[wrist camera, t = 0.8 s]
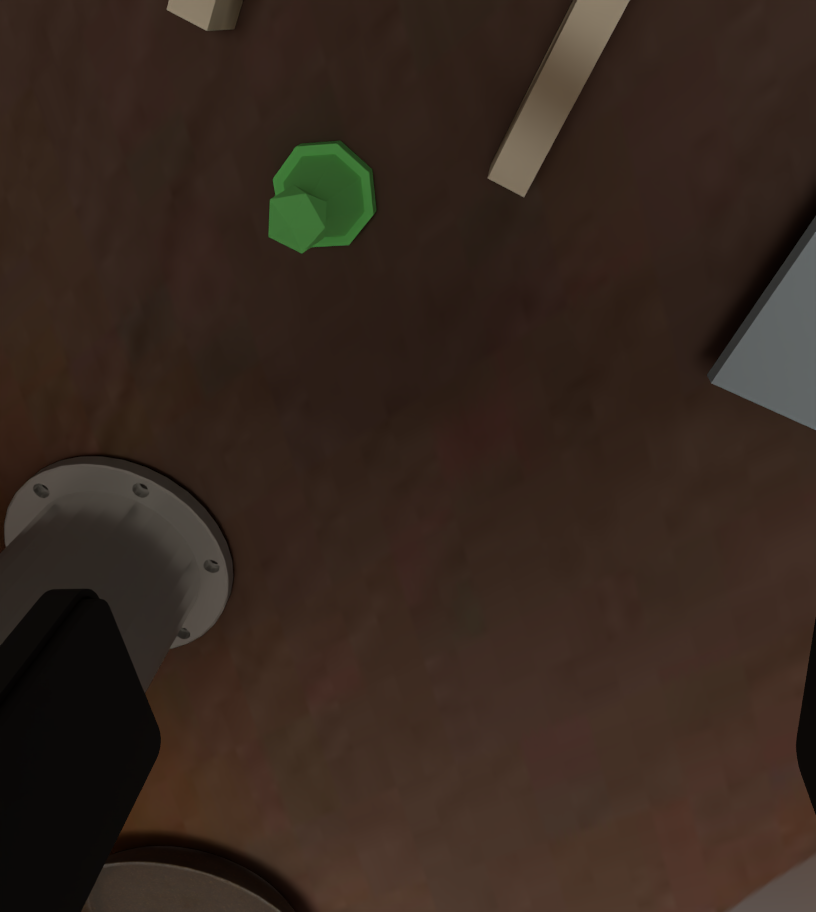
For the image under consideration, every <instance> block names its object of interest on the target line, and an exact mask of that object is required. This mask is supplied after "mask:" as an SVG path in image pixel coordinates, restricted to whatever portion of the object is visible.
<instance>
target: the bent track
mask: <svg viewBox="0 0 816 912" xmlns="http://www.w3.org/2000/svg"><path fill="white" fill-rule="evenodd" d="M629 1H630V0H573V1H572V3H571V5H570V7H569V9H568V11H567V13H566V15H565V17H564V19H563V21H562V23H561V25H560V27H559V29H558V31H557V33H556V35H555V37H554V39H553V41H552V43H551V45H550V47H549V49H548V51H547V53H546V55H545V57H544V59H543V61H542V63H541V65H540V67H539V69H538V71H537V73H536V75H535V77H534V79H533V81H532V83H531V85H530V87H529V89H528V91H527V93H526V95H525V97H524V99H523V101H522V103H521V105H520V107H519V109H518V111H517V113H516V115H515V117H514V119H513V121H512V123H511V125H510V127H509V129H508V131H507V133H506V135H505V137H504V139H503V141H502V143H501V145H500V147H499V149H498V151H497V153H496V155H495V157H494V159H493V161H492V163H491V165H490V169H489V174H488V179H490V180H492V181H494V182H496V183H498V184H499V185H501V186H503V187H505V188H507V189H509V190H511V191H513V192H515V193H517V194H519V195H520V196H522V197H525V195H526V193H527V191H528V189H529V187H530V185H531V183H532V182H533V180H534V178H535V176H536V174H537V172H538V170H539V169H540V167H541V165H542V163H543V161H544V159H545V157H546V155H547V154H548V152H549V150H550V148H551V146H552V144H553V142H554V141H555V139H556V137H557V135H558V133H559V131H560V129H561V127H562V126H563V124H564V122H565V120H566V118H567V116H568V114H569V113H570V111H571V109H572V107H573V105H574V103H575V101H576V99H577V98H578V96H579V94H580V92H581V90H582V88H583V86H584V85H585V83H586V81H587V79H588V77H589V75H590V73H591V71H592V70H593V68H594V66H595V64H596V62H597V60H598V58H599V57H600V55H601V53H602V51H603V49H604V47H605V45H606V43H607V42H608V40H609V38H610V36H611V34H612V32H613V30H614V29H615V27H616V25H617V23H618V21H619V19H620V17H621V15H622V14H623V12H624V10H625V8H626V6H627V4H628V2H629ZM242 3H243V0H169V3H168V7H167V10H168V11H170V12H172V13H174V14H176V15H177V16H179V17H181V18H183V19H185V20H187V21H189V22H191V23H193V24H195V25H197V26H198V27H200V28H202V29H204V30H206V31H214V30H231V29H235V26H236V23H237V19H238V16H239V13H240V9H241V6H242Z"/></svg>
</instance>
